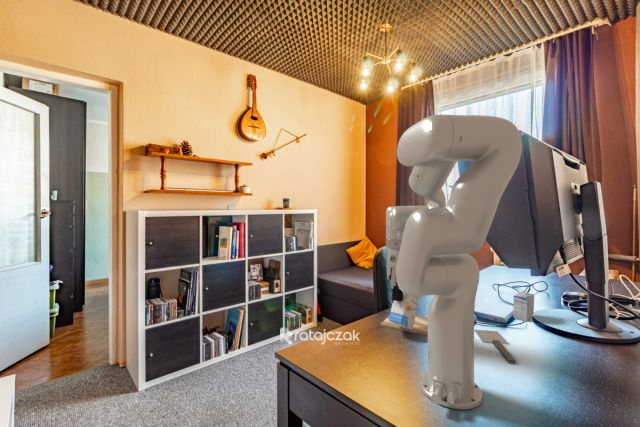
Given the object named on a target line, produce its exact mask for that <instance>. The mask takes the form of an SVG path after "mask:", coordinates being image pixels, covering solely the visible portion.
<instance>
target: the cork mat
mask: <svg viewBox="0 0 640 427" xmlns="http://www.w3.org/2000/svg"><path fill="white" fill-rule="evenodd" d="M389 316H390V314H389V315H388V316H387V317H386V318H385V319H384V320H383V321H382V322H381V323H379V326H380V327H384V328H389V329H393V330H398V331H403V332H407V333H413V334H417V335H422V336H427V337H428V316H424V315H417V314H416V317H415V322H414V326H413V330H410V329H406V328H403V327H400V326H398V325H396V324H394V323H392V322H391V321H389Z"/></svg>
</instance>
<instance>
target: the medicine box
mask: <svg viewBox="0 0 640 427" xmlns="http://www.w3.org/2000/svg"><path fill="white" fill-rule="evenodd" d="M534 304H535V294H534V293H531V292H525V291H524V292H523V291H520V292H518V293H516V294H515V295H513V304H512V305H513V306H512V307H513V310H512V311H513V314H512V316H513V317H514V318H513V317H512V318H513V319H514V320H517V321H518V320H519V321H522V322H528V321H530V320H531V319H532V318H533V317H532V315H533V314H535V312H534V309H535V307H534V306H535V305H534Z"/></svg>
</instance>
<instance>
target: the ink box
mask: <svg viewBox="0 0 640 427" xmlns="http://www.w3.org/2000/svg"><path fill="white" fill-rule="evenodd" d="M420 299H421V296H411V295H407V294H405V293H403V300H402V301H401V302H400V301H394V300H392V305H391V309H390V313H389V315H390V316H389V315H388V316H389V321H391V322H392V323H394V324H396V325H398V326H400V327H403V328H406V329H410V330H413V326H414V322H415V317H416V315H417V312H418V308H419V303H420Z"/></svg>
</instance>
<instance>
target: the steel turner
mask: <svg viewBox="0 0 640 427" xmlns="http://www.w3.org/2000/svg"><path fill="white" fill-rule="evenodd" d="M474 333H475V334H476V335H477V336H478V337H479V339H480V340H481V342H482V343H488V344H493V345H494V346H495V348H496V349H497V350H498V351H499V353H500V354H501V355H502V357H503V358H504V359H505V360H506V361H507V363H508V364H512V365H513V364H514V365H516V364H517V360H516V359H515V358H514V356H513V355H512V354H511V353H510V351H508V350H507V348H506V347H505V346H504V345H509V342H508V341H507V340H506V339H505V338H504V337H503V335H501V333H500V332H499V331H497V330H486V329H485V330H484V329H474Z"/></svg>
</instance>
